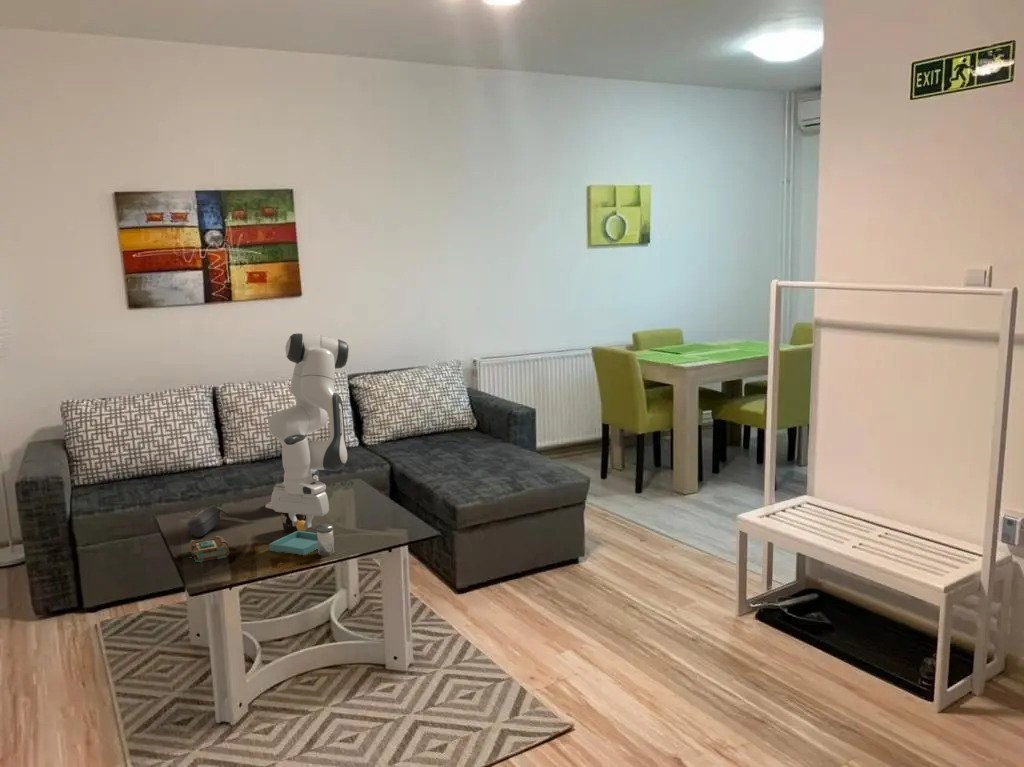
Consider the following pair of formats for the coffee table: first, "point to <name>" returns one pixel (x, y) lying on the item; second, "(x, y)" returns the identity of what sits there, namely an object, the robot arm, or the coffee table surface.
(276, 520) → the coffee table surface
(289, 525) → the coffee mug
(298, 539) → the tray
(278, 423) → the robot arm
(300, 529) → the ball
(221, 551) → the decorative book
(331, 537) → the cup
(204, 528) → the glasses case
